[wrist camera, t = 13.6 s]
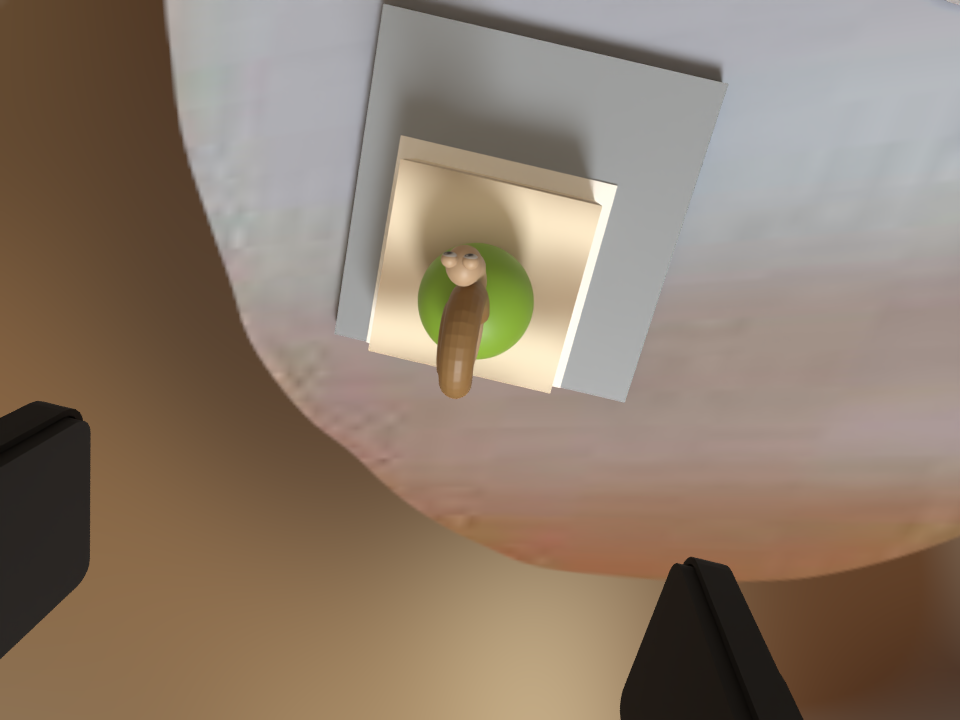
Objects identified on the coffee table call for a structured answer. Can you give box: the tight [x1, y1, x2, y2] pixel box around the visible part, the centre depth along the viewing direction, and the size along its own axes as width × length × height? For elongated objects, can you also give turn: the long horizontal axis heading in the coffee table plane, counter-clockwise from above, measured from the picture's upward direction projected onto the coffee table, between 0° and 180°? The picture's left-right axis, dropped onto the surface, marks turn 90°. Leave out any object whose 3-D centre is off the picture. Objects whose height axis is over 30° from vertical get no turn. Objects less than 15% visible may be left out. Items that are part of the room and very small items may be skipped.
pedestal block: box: [368, 158, 602, 393], centre depth 33 cm, size 10×10×4 cm
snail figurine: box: [418, 243, 534, 399], centre depth 25 cm, size 5×6×12 cm
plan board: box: [335, 4, 728, 403], centre depth 34 cm, size 18×18×1 cm
